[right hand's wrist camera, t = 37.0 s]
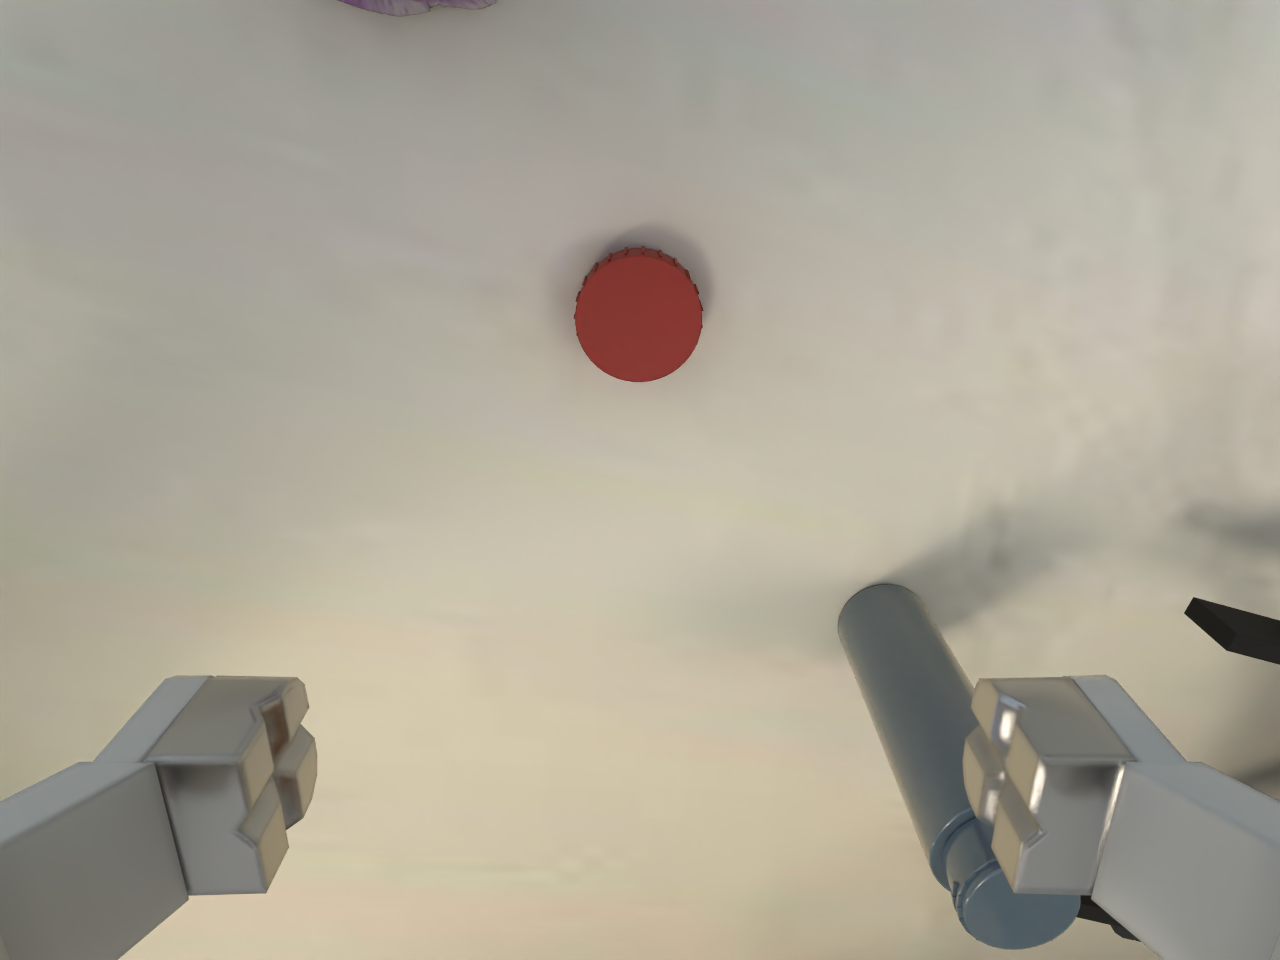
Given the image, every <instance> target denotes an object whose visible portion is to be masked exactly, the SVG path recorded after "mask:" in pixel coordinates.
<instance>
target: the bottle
mask: <svg viewBox="0 0 1280 960" xmlns="http://www.w3.org/2000/svg"><path fill="white" fill-rule="evenodd" d="M838 633H839V637H840V640H841V642H842V645H843V648H844V650H845V653H846V655H847V658H848V660H849V663H850V665H851V668H852V670H853V673H854V675H855V678H856V680H857V683H858V686H859V688H860V691H861V693H862V696H863V698H864V701H865V703H866V706H867V708H868V711H869V713H870V716H871V718H872V721H873V724H874V726H875V729H876V731H877V734H878V736H879V739H880V741H881V744H882V746H883V749H884V751H885V754H886V756H887V759H888V762H889V764H890V767H891V769H892V772H893V774H894V777H895V779H896V782H897V784H898V787H899V789H900V792H901V794H902V797H903V800H904V802H905V805H906V807H907V810H908V812H909V815H910V817H911V820H912V822H913V825H914V827H915V830H916V832H917V835H918V838H919V840H920V843H921V845H922V848H923V850H924V853H925V855H926V858H927V860H928V863H929V865H930V868H931V870H932V873H933V875H934V876H935V878H936V879H937V881H938V882H939V883H940V884H941V885H942V886H943V887H944V888H946V889H947V890H949V891H950V892H951V896H952V901H953V905H954V908H955V910H956V911H957V915H958V918H959V920H960V922H961V923H962V925H963V927H964V928H965V930H966V931H967V932H968V933H969V934H971V935H972V936H973V937H975V938H976V940H979V941H981V942H983V943H985V944H987V945H989V946H992V947H996V948H1000V949H1007V950H1019V949H1027V948H1032V947H1036V946H1039V945H1042V944H1044V943H1047V942H1049V941H1052V940H1053V939H1055V938H1056V937H1058V936H1059V935H1060V934H1062V933H1063V932H1064V931H1065V930H1066V929H1067V928H1068V927H1069V926H1070V925H1071V924H1072V923H1073V921H1074V920H1075V918H1076V916H1077V914H1078V912H1079V909H1080V903H1081V896H1080V895H1056V894H1021V893H1014V892H1013V890H1012V888H1011V886H1010V884H1009V882H1008V880H1007V878H1006V876H1005V874H1004V872H1003V870H1002V868H1001V866H1000V864H999V862H998V860H997V858H996V856H995V854H994V852H993V850H992V848H991V845H992V839H993V834H994V830H993V829H992V828H990V827H989V826H987V825H986V824H985V823H983V822H982V821H980V820H979V819H977V817H976V815H975V813H974V811H973V809H972V807H971V805H970V802H969V799H968V796H967V792H966V789H965V785H964V775H963V762H962V761H963V753H964V745H965V738H966V737H967V736H968V735H969V734H970V733H971V732H972V731H973V730H974V729H975V728H976V727H977V726H978V725H979V724H980V723H979V721H978V720H977V718H976V716H975V714H974V712H973V711H972V709H971V703H972V697H973V692H974V688H973V686H972V684H971V683H970V681H969V679H968V678H967V676H966V674H965V673H964V671H963V669H962V668H961V666H960V664H959V663H958V661H957V659H956V658H955V656H954V654H953V653H952V651H951V649H950V648H949V646H948V644H947V643H946V641H945V639H944V638H943V636H942V634H941V633H940V631H939V629H938V628H937V626H936V624H935V623H934V621H933V619H932V618H931V616H930V614H929V613H928V611H927V609H926V608H925V606H924V604H923V603H922V601H921V600H920V598H919V597H918V596H917V595H916V594H914V593H913V592H912V591H910V590H908V589H906V588H904V587H900V586H897V585H887V584H885V585H877V586H873V587H869V588H867V589H864V590H862V591H861V592H859V593H857V594H856V595H855V596H853V597H852V598H851V599H850V600H849V601H848V602H847V604H846V605H845V606H844V608H843V610H842V612H841V614H840V617H839V621H838Z"/></svg>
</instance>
